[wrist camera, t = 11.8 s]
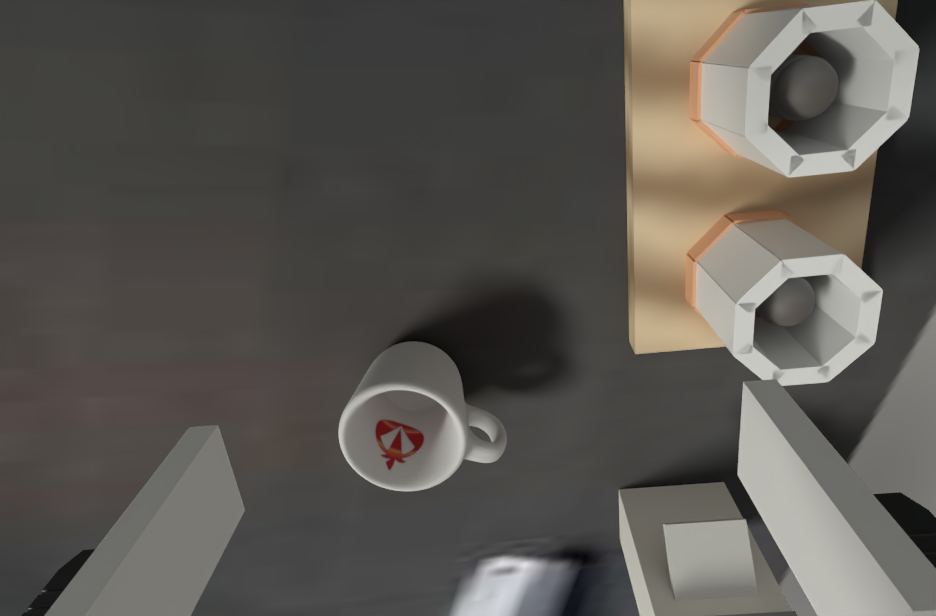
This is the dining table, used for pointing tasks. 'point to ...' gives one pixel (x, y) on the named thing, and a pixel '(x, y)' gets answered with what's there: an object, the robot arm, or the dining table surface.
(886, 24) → the sleeve seated
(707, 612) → the box
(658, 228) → the pin board
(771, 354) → the sleeve
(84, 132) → the dining table surface
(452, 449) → the cup
